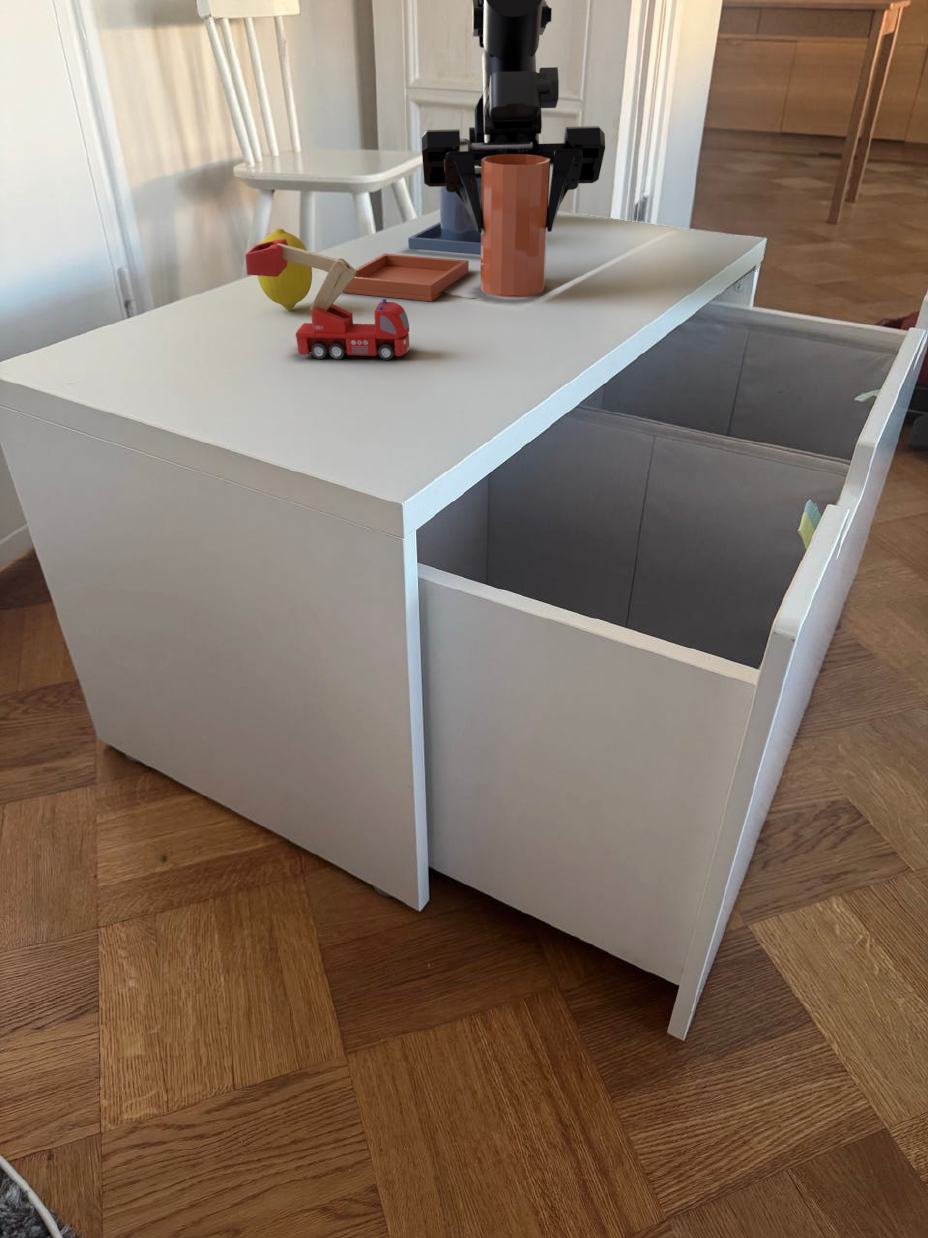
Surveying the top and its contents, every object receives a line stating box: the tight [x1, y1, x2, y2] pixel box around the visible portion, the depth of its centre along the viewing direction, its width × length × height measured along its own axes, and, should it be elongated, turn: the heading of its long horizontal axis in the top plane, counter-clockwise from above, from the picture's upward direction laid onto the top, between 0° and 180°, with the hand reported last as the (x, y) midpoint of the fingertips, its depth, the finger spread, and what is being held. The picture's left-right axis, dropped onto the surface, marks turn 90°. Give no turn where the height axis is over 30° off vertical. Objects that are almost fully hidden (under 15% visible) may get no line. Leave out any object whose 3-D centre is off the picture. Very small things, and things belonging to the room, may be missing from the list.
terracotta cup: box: [480, 154, 551, 298], centre depth 95 cm, size 7×7×13 cm
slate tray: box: [407, 221, 481, 256], centre depth 116 cm, size 11×11×2 cm
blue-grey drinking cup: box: [439, 178, 481, 243], centre depth 114 cm, size 6×6×7 cm
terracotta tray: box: [342, 253, 470, 302], centre depth 102 cm, size 11×11×2 cm
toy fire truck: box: [244, 239, 410, 361], centre depth 81 cm, size 3×14×10 cm, turn 84°
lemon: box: [257, 227, 313, 311], centre depth 93 cm, size 6×6×8 cm
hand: (514, 229), depth 94 cm, fingers closed on terracotta cup, 7 cm apart
